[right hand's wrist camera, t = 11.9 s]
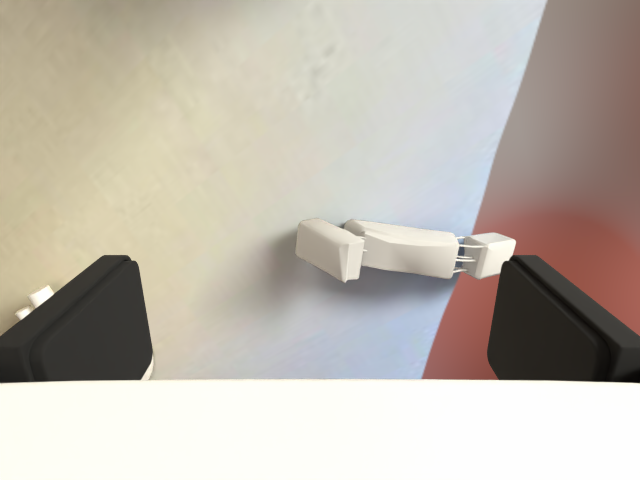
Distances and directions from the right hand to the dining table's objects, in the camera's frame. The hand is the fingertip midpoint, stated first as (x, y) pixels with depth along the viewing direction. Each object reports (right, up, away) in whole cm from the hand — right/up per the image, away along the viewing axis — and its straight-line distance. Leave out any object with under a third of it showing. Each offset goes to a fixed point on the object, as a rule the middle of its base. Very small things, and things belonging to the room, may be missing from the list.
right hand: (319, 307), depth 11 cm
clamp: (+8, +2, +30) cm, 31 cm away
